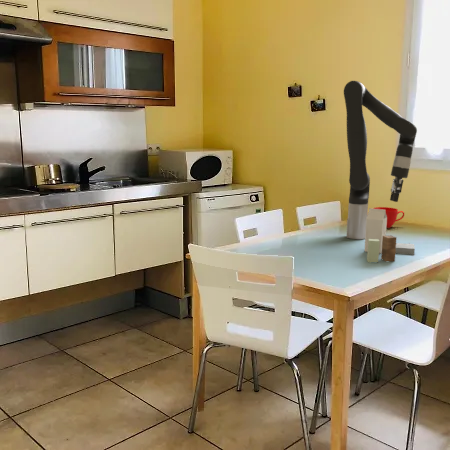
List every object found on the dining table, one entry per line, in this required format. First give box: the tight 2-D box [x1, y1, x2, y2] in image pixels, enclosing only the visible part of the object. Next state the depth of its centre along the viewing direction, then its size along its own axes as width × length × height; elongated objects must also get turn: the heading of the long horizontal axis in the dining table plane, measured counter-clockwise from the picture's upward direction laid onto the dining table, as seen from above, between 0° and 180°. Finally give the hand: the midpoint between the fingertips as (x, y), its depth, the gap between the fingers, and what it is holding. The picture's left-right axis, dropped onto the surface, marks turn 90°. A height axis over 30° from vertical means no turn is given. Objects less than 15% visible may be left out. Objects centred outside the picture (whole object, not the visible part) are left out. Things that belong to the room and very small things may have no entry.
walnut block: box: [380, 234, 397, 262], centre depth 215 cm, size 4×4×10 cm
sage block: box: [366, 239, 380, 263], centre depth 214 cm, size 4×4×9 cm
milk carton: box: [364, 207, 387, 254], centre depth 229 cm, size 7×7×19 cm
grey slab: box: [395, 242, 416, 256], centre depth 231 cm, size 9×9×3 cm
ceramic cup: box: [372, 206, 405, 229], centre depth 284 cm, size 13×17×10 cm
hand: (393, 201), depth 244 cm, fingers open, 8 cm apart
